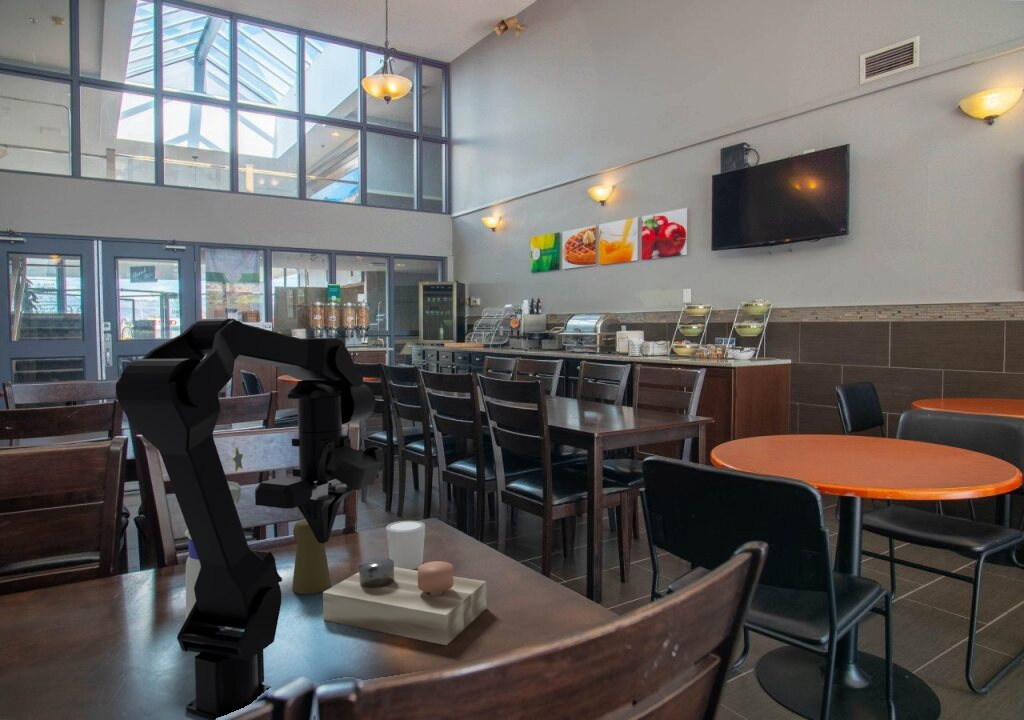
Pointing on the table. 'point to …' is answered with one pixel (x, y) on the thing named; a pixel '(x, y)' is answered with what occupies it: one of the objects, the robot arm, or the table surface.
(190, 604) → the water bottle
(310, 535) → the cork
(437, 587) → the pink mushroom knob
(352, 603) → the plunger block
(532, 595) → the table surface
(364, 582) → the metal plunger
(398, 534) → the shot glass
